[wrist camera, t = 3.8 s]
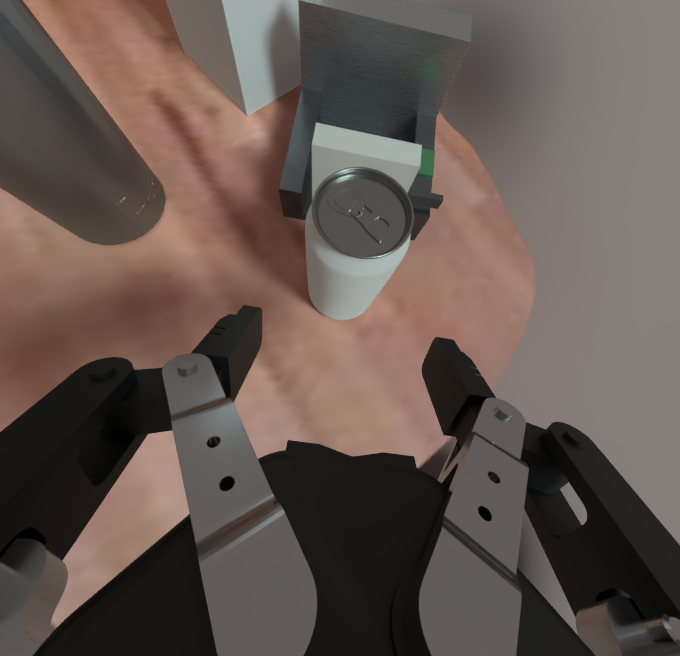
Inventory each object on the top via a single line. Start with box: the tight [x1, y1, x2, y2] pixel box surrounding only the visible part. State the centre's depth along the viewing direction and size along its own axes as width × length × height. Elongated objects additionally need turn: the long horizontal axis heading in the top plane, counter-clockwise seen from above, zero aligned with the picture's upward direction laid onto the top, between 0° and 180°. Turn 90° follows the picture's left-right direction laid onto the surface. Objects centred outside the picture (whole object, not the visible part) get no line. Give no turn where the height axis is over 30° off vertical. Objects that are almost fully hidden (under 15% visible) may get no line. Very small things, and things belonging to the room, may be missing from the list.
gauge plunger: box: [312, 123, 443, 209], centre depth 22 cm, size 12×2×8 cm, turn 82°
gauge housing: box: [279, 0, 472, 240], centre depth 24 cm, size 14×15×10 cm
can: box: [305, 167, 414, 320], centre depth 20 cm, size 6×6×12 cm
